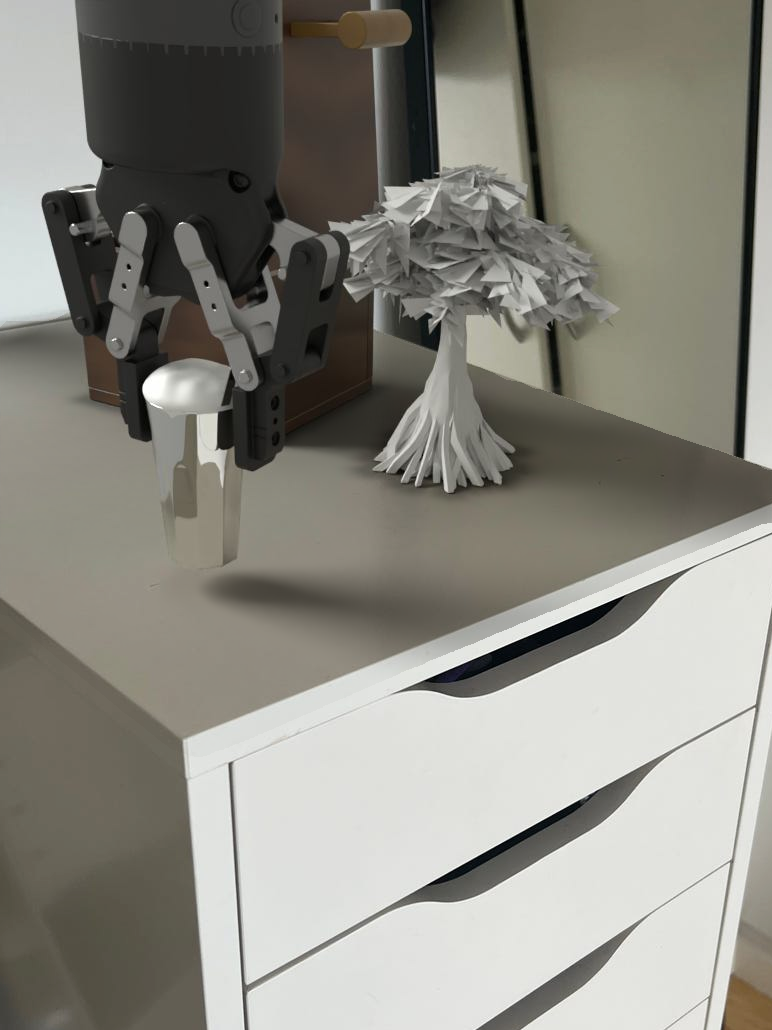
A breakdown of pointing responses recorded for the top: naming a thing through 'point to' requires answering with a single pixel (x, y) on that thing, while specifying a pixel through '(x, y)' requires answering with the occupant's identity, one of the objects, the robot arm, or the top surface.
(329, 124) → the lid
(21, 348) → the top surface
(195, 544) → the milkshake
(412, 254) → the tree
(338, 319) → the chest
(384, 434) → the top surface
